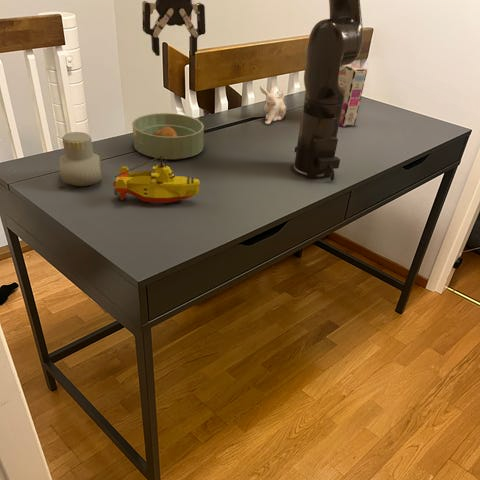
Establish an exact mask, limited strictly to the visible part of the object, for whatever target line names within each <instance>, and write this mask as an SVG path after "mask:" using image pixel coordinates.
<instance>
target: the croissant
mask: <svg viewBox="0 0 480 480" xmlns="http://www.w3.org/2000/svg"><path fill="white" fill-rule="evenodd" d="M154 135H156V136H165V137H178V136H177V133H176V132H175V131H174V129H172V128H171V127H163V128H162V129H161V130H159V131H157V132H155V133H154Z"/></svg>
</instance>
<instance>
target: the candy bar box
mask: <svg viewBox="0 0 480 480" xmlns="http://www.w3.org/2000/svg"><path fill="white" fill-rule="evenodd" d="M367 73H368V69H366V68H364V67H362V66H359V65H356V64H353V63H350V64H348V65H344V66H340V70H339V78H338V82H339V84H341V85H343V86H344V87H345V89H346V94H345V99H344V104H343V109H342V114H341V118H340V123H339V126H341V127H342V128H344V127H345V128H346V127H355V126H356V121H357V117H358V112H359V108H360V104H361V99H362V95H363V90H364V86H365V82H366V77H367Z"/></svg>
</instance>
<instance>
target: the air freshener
mask: <svg viewBox="0 0 480 480" xmlns="http://www.w3.org/2000/svg"><path fill="white" fill-rule="evenodd" d="M61 140H62V147H63V153H64V154H62V155H61V156H60V158H59V174H60V179H61V181H62V182H64V183H66V184H68V185H72V186H77V187H87V186H92V185H95V184H96V183H98V182H100V181H101V180H102V178H103V177H102V176H103V173H102V171H103V170H102V160H101V156H100V155H99V154H97V153H95V152H94V150H93V149H94V148H93V143H92V142H93V141H92V136H91V135H90V134H88V133H86V132H81V131H71V132H67V133H64V135H63V136H62V137H61Z"/></svg>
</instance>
